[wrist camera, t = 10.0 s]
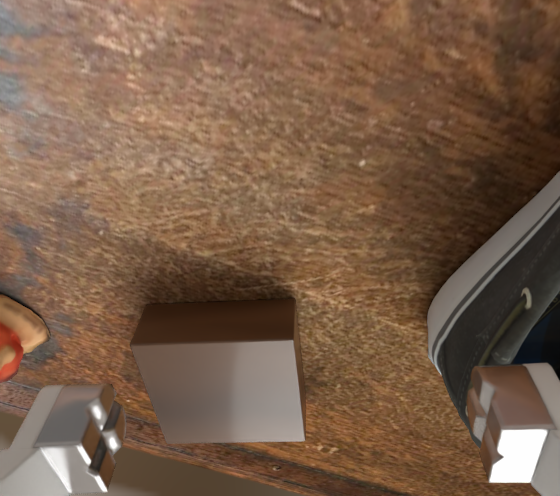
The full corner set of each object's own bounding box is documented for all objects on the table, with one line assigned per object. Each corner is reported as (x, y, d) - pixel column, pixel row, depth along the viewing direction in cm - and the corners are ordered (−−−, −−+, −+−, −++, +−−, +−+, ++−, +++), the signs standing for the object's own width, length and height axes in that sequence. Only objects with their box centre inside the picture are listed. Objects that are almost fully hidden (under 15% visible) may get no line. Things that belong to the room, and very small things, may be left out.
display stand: (145, 303, 26) (128, 344, 24) (295, 297, 25) (294, 339, 23) (177, 401, 31) (166, 444, 28) (305, 398, 30) (305, 442, 27)
